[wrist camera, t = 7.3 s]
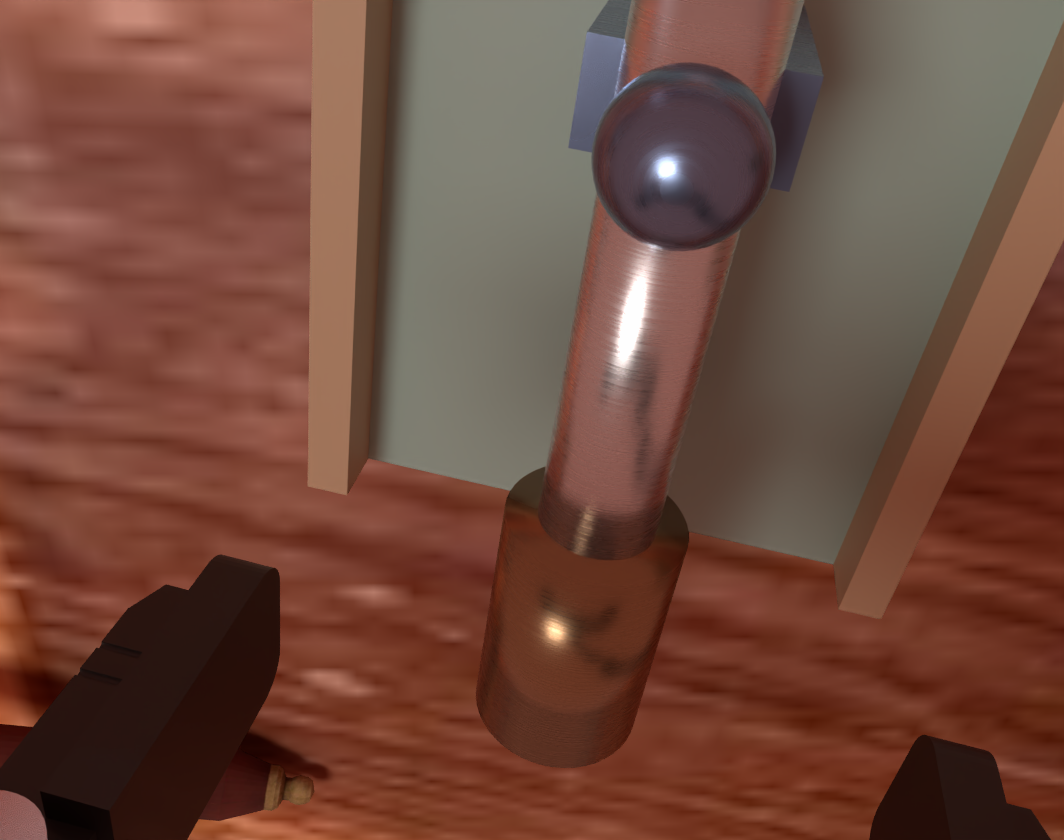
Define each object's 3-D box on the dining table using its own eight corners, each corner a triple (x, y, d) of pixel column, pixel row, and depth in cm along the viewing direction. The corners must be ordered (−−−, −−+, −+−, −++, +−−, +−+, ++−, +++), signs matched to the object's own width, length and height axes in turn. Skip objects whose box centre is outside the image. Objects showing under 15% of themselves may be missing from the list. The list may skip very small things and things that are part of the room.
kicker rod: (831, -69, 16) (891, 31, 10) (653, 561, 25) (617, 860, 18) (634, -104, 17) (554, -32, 10) (523, 531, 25) (436, 814, 18)
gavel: (336, 646, 39) (302, 888, 31) (323, 719, 41) (288, 961, 33) (-249, 577, 35) (-467, 832, 27) (-225, 662, 37) (-417, 918, 29)
